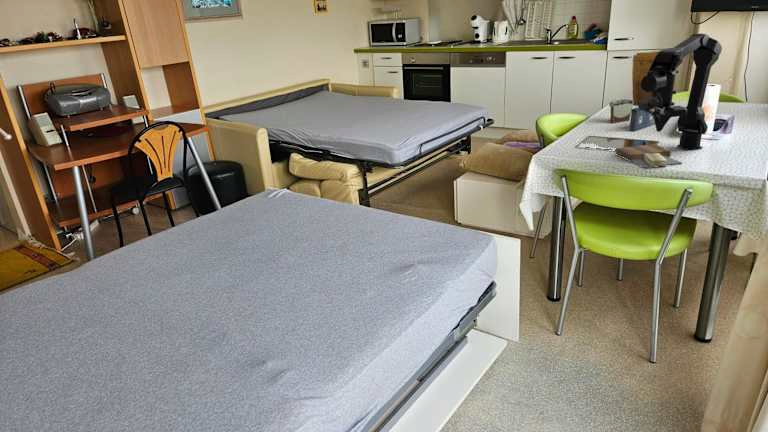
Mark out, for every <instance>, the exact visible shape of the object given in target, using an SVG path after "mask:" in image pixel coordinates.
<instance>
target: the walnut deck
mask: <svg viewBox="0 0 768 432" xmlns="http://www.w3.org/2000/svg"><path fill="white" fill-rule="evenodd" d="M647 153H659V154H660V155H661V156H667V157H669V158H671V153H672V150H671V149H668V148H666V147H663V146H660V145H658V144H657V145H655V144H650V145H642V146H633V147H625V148H616V152H615V154H617V155H619V156H621V157H624V158H626V159H628V160H630V161H631V160H636V159H644V154H647ZM617 155H616V156H617ZM619 156H618V157H619ZM621 157H620V158H621ZM624 158H623V159H624ZM626 159H625V160H626ZM628 160H627V161H628ZM630 161H629V162H630Z"/></svg>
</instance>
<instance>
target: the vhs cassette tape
mask: <svg viewBox="0 0 768 432" xmlns="http://www.w3.org/2000/svg"><path fill="white" fill-rule="evenodd" d="M629 122H630V123H629V131H630V132H637V131H640V130H643V129H646V128H649V127H652V126H655V121H654V118H653V116H652V115H651V114H650V113H648V111H647V112H645V111H643V110H639V108H638V107H634V108H632V110H631V115H630V120H629Z"/></svg>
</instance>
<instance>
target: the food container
mask: <svg viewBox="0 0 768 432" xmlns="http://www.w3.org/2000/svg"><path fill="white" fill-rule="evenodd" d="M633 104H634V101H633V99H628V98H627V99H626V98H625V99H623V98H621V99H620V98H619V99H613V100H612V99H611V100H610V102H609V107H610V123H611V124H619V123H625V122H630V120H631V110H632V109H633V106H634V105H633Z"/></svg>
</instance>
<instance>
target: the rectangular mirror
mask: <svg viewBox="0 0 768 432" xmlns="http://www.w3.org/2000/svg"><path fill="white" fill-rule="evenodd" d="M581 143H583V144H586V143H587V144H588V143H589V144H590V143H591V144H592V143H593V144H594V145H595V144H596V146H597V145H598V146H599V147H602V148H603V147H604V148H607V149H604V150H613V149H611V148H614V149H615V148H625V147H633V146H642V145H650V144H655V145H658V144H659V143H660V141H659V140H649V139H640V138H639V139H637V138H635V139H634V138H625V137H624V138H623V137H612V136H611V137H610V136H598V135H597V136H596V135H588V136H587V137H585V138H584V139H583V140H581V142H580V143H578V144H577V145H576V146H575V148H576V147H577V146H578V147H579V145H580V144H581ZM609 147H610V149H608V148H609ZM585 148H590V147H585ZM596 149H601V148H596ZM604 150H603V151H604ZM615 151H616V149H615ZM615 151H614V152H615Z"/></svg>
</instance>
